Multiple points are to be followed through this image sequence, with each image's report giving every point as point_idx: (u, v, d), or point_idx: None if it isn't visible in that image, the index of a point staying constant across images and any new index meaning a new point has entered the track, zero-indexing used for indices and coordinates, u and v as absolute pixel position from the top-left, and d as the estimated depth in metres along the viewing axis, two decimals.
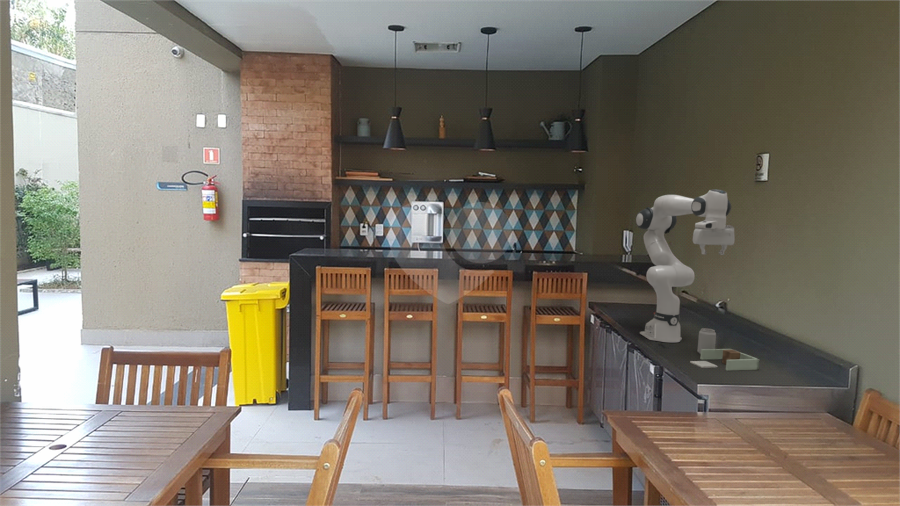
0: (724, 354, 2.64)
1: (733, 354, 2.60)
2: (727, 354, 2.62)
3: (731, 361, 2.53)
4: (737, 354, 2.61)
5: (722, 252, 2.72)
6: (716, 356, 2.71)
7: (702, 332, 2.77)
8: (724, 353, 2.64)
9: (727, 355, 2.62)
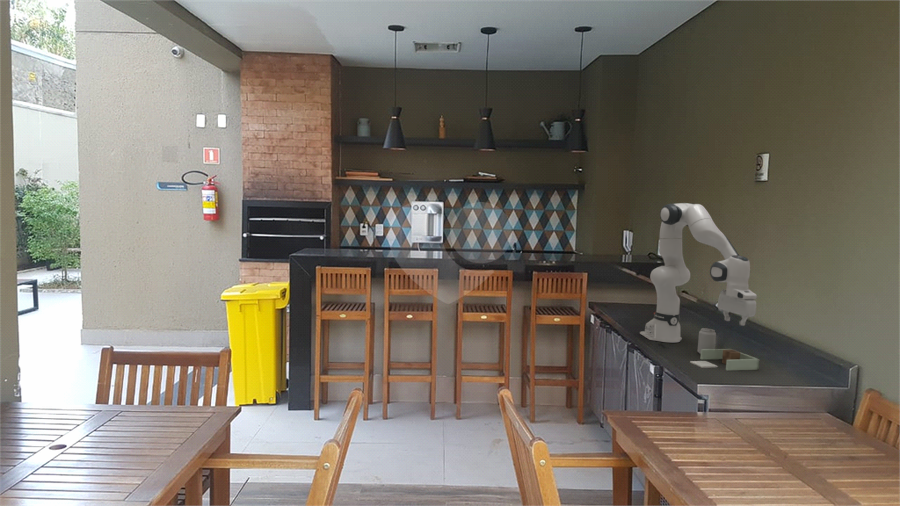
0: (724, 354, 2.64)
1: (733, 354, 2.60)
2: (727, 354, 2.62)
3: (731, 361, 2.53)
4: (737, 354, 2.61)
5: None
6: (716, 356, 2.71)
7: (702, 332, 2.77)
8: (724, 353, 2.64)
9: (727, 355, 2.62)
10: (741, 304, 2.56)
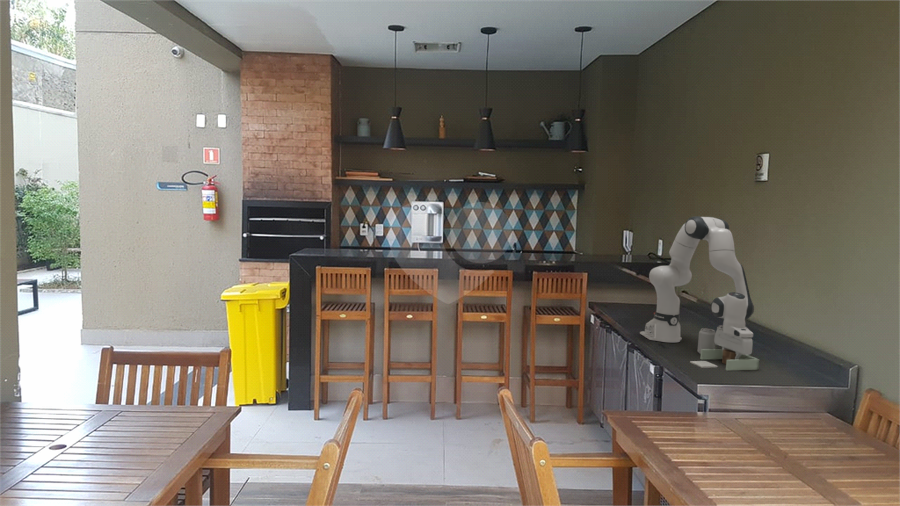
0: (724, 354, 2.64)
1: (733, 354, 2.60)
2: (727, 353, 2.62)
3: (731, 361, 2.53)
4: None
5: None
6: (716, 356, 2.71)
7: (702, 332, 2.77)
8: (724, 353, 2.64)
9: (727, 355, 2.62)
10: (738, 342, 2.57)
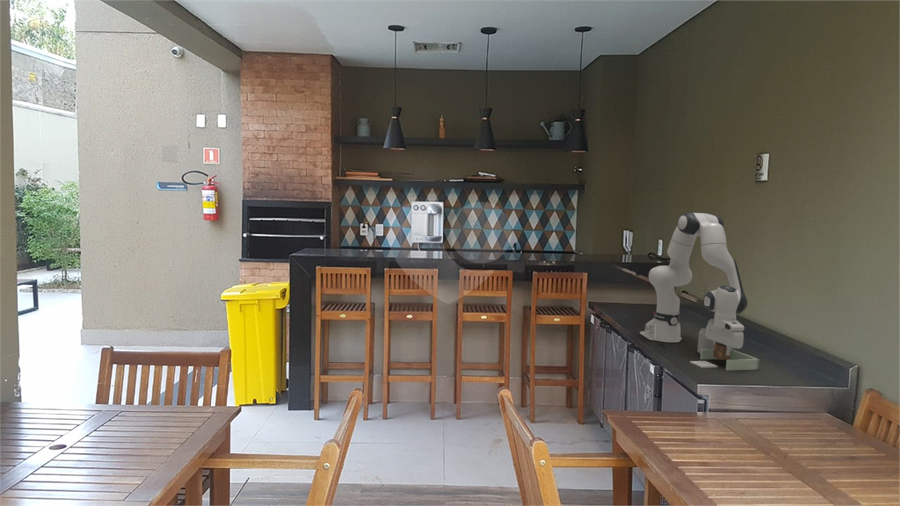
0: (715, 348, 2.62)
1: (724, 348, 2.59)
2: (718, 347, 2.60)
3: (731, 361, 2.53)
4: None
5: None
6: None
7: (702, 332, 2.77)
8: (715, 347, 2.62)
9: (718, 349, 2.60)
10: (728, 335, 2.56)
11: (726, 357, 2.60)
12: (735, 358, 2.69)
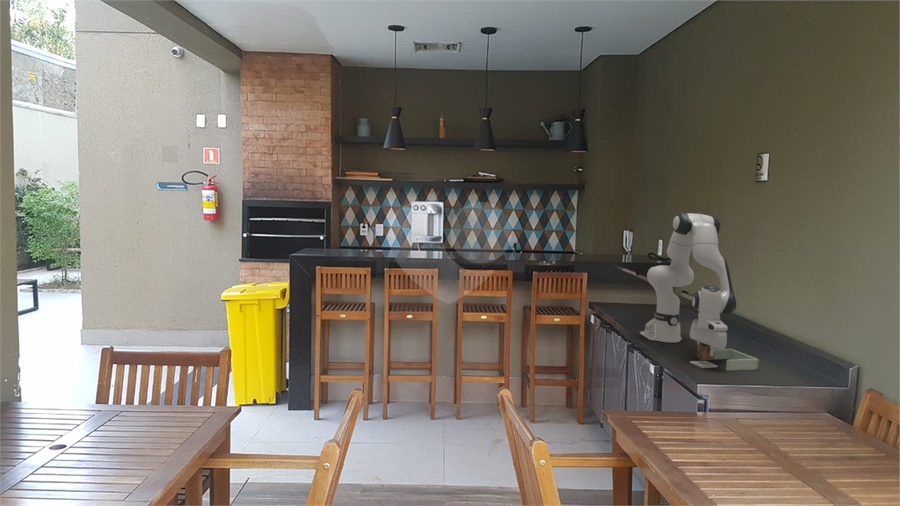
0: (699, 348, 2.60)
1: (708, 348, 2.57)
2: (702, 348, 2.58)
3: (731, 361, 2.53)
4: None
5: None
6: (716, 356, 2.71)
7: None
8: (699, 347, 2.60)
9: (702, 349, 2.58)
10: (712, 335, 2.54)
11: (710, 357, 2.58)
12: (735, 358, 2.69)
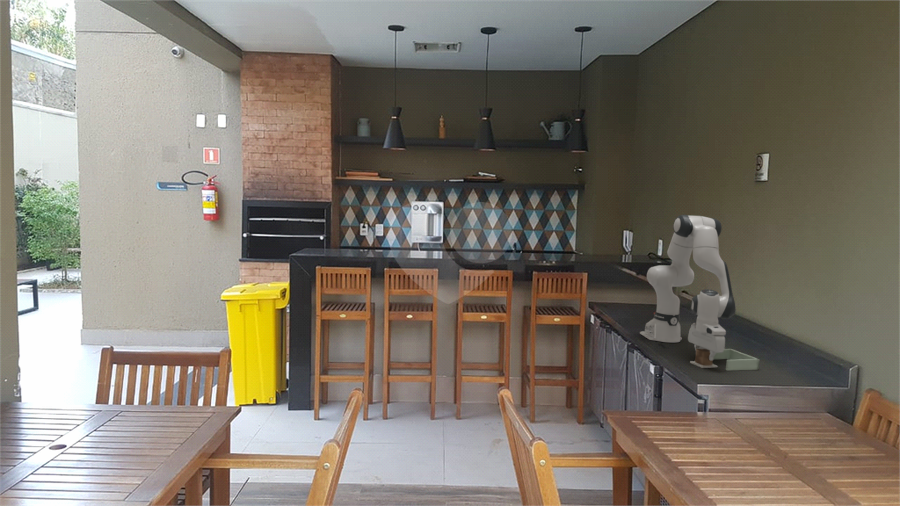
0: (697, 353, 2.60)
1: (706, 353, 2.57)
2: (700, 353, 2.59)
3: (731, 361, 2.53)
4: None
5: None
6: (716, 356, 2.71)
7: None
8: (697, 352, 2.60)
9: (700, 355, 2.58)
10: (710, 339, 2.54)
11: (708, 363, 2.58)
12: (735, 358, 2.69)
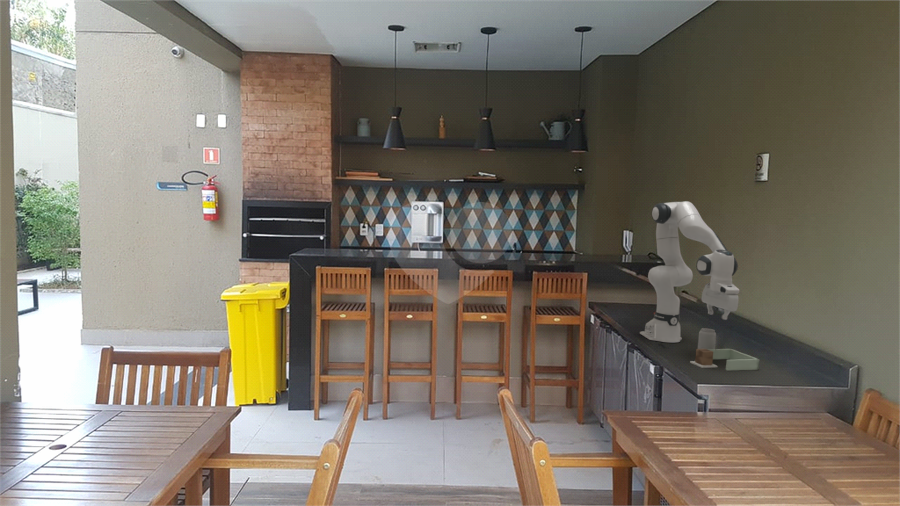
0: (697, 353, 2.60)
1: (706, 353, 2.57)
2: (700, 353, 2.59)
3: (731, 361, 2.53)
4: (710, 353, 2.57)
5: None
6: (716, 356, 2.71)
7: (702, 332, 2.77)
8: (697, 352, 2.60)
9: (700, 355, 2.58)
10: (724, 298, 2.57)
11: (708, 363, 2.58)
12: (735, 358, 2.69)
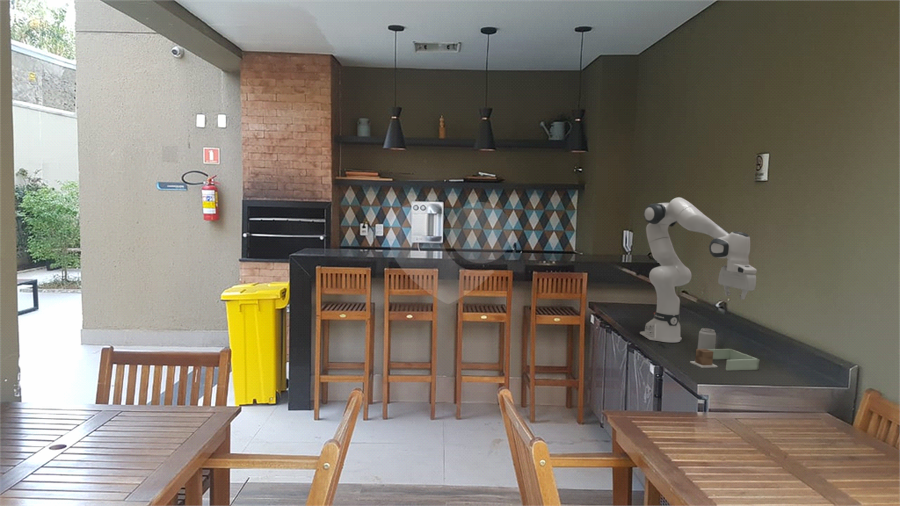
0: (697, 353, 2.60)
1: (706, 353, 2.57)
2: (700, 353, 2.59)
3: (731, 361, 2.53)
4: (710, 353, 2.57)
5: None
6: (716, 356, 2.71)
7: (702, 332, 2.77)
8: (697, 352, 2.60)
9: (700, 355, 2.58)
10: (741, 278, 2.62)
11: (708, 363, 2.58)
12: (735, 358, 2.69)
